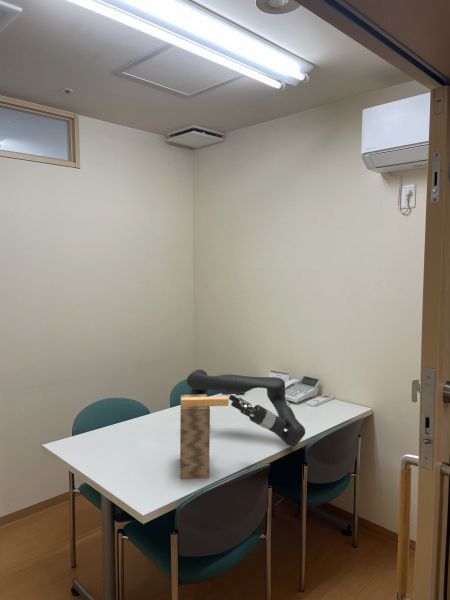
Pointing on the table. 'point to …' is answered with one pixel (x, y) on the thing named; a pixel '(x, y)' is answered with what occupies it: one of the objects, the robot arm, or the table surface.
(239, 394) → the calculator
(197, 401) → the rod
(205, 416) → the stand
